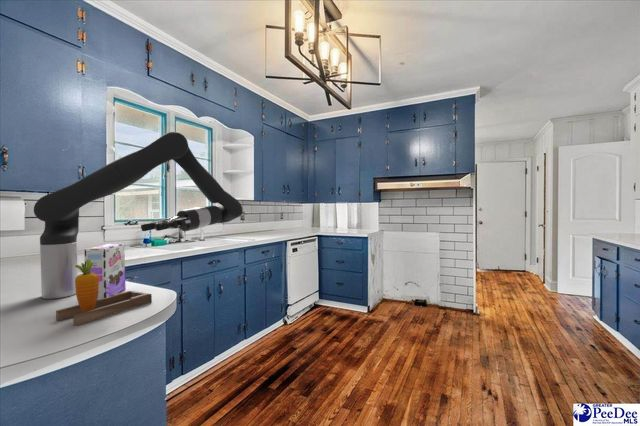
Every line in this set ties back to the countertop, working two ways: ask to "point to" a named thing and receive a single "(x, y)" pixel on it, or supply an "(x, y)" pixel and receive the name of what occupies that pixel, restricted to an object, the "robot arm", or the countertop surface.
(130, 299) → the guide channel
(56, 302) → the countertop surface
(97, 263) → the candy box
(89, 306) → the carrot
